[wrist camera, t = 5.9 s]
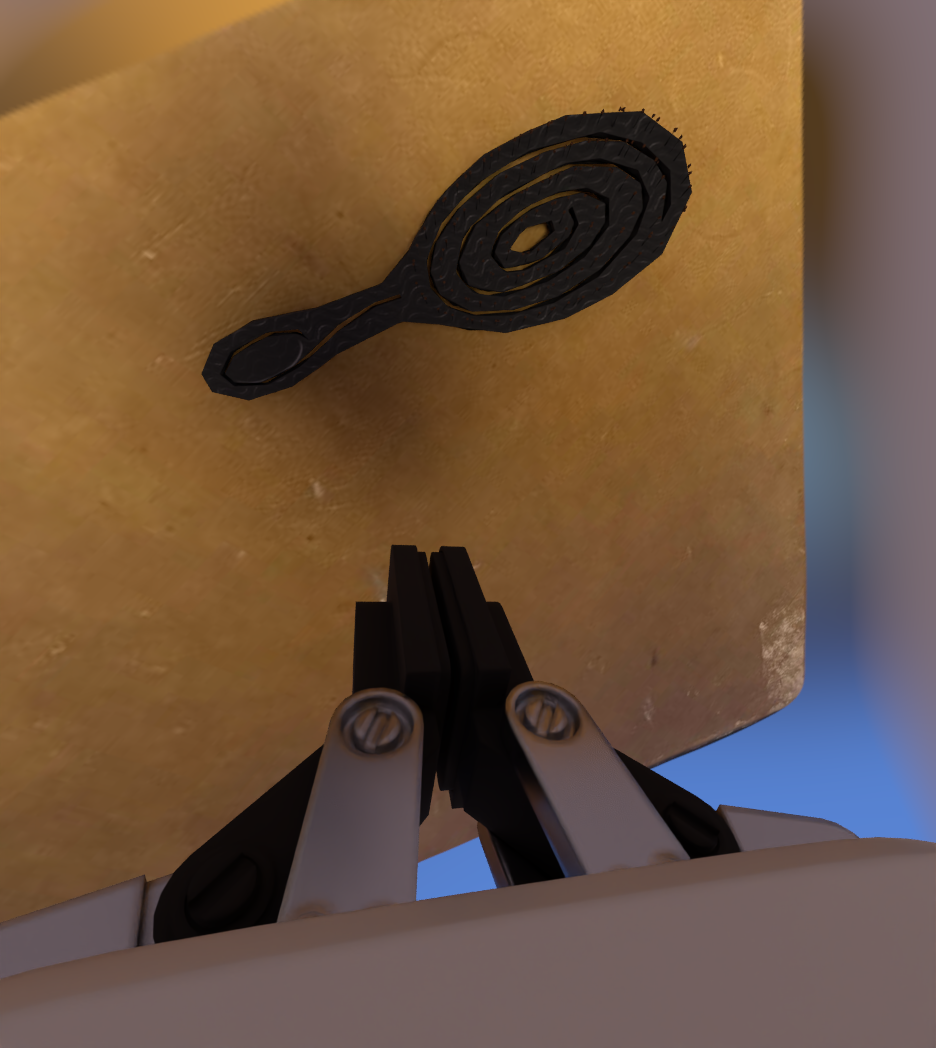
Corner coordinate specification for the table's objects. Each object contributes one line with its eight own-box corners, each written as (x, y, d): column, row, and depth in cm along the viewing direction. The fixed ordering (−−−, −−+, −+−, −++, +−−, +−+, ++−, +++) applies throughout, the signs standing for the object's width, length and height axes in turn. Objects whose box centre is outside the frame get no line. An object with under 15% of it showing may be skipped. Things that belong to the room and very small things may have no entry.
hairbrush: (129, 300, 20) (690, 44, 18) (165, 297, 23) (645, 78, 22) (244, 469, 24) (711, 268, 23) (262, 445, 27) (671, 268, 26)
